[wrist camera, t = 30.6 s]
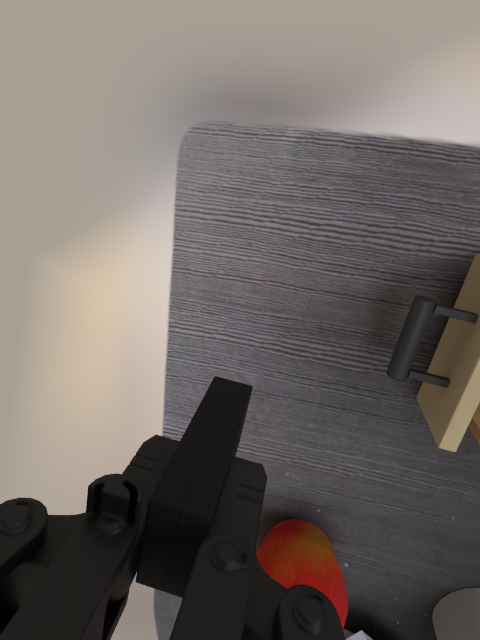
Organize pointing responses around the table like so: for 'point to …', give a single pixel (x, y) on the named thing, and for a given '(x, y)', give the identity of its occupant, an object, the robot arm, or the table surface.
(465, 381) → the drawer
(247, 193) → the table surface
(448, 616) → the cup
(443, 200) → the table surface
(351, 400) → the table surface
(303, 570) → the apple
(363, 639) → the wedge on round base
